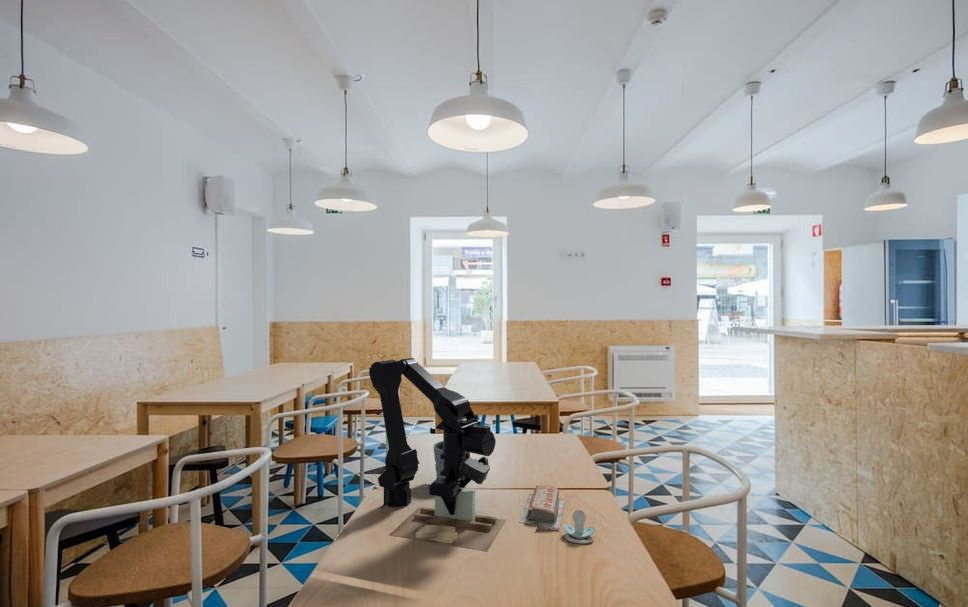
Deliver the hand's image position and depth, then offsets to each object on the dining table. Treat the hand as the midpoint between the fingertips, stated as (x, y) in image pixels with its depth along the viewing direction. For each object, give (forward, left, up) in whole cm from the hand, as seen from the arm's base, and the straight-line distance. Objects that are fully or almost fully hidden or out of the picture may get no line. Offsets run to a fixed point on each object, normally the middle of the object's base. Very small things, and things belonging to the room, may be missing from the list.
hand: (454, 511), depth 121 cm
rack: (0, -4, -3) cm, 5 cm away
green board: (0, 0, -2) cm, 2 cm away
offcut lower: (-1, -9, -2) cm, 9 cm away
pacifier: (+30, +3, -4) cm, 30 cm away
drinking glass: (-11, +24, -4) cm, 27 cm away
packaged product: (+20, +13, -4) cm, 24 cm away
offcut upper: (0, -9, -1) cm, 9 cm away
